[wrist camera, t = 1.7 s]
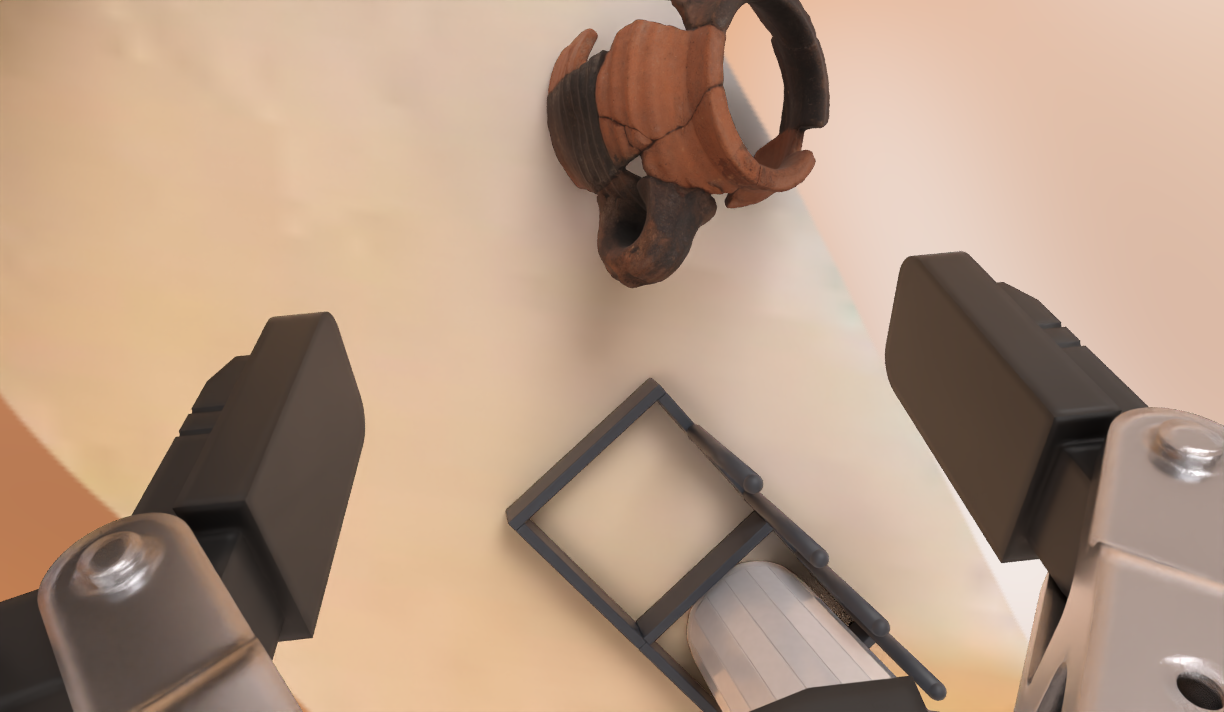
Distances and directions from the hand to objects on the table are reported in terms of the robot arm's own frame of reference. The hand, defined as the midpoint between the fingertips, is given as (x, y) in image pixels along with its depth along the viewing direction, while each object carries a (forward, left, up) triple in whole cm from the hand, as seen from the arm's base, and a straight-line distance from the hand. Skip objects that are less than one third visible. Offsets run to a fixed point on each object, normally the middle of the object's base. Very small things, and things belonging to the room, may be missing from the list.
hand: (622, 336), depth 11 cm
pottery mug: (+1, +8, -21) cm, 23 cm away
